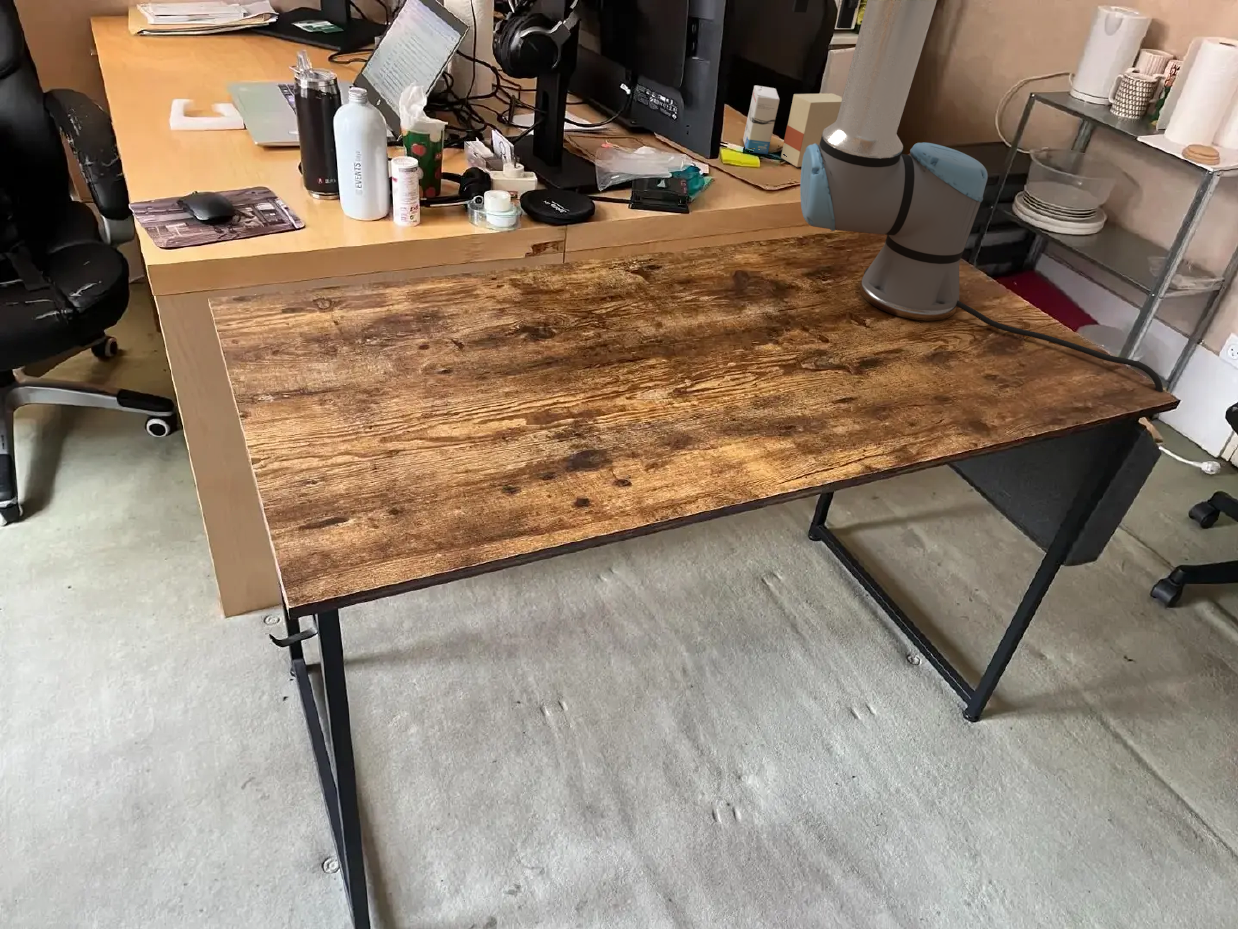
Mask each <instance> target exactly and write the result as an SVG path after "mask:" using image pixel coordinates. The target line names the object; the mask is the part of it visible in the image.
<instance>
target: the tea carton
mask: <svg viewBox="0 0 1238 929" xmlns="http://www.w3.org/2000/svg"><path fill="white" fill-rule="evenodd" d="M842 97H843V96H840V95H837V94H835V93H833V92H831V93H830V92H829V93H794V94H793V96H792V101H791V102H792V103H791V106H790V111H789V116H788V121H787V125H786V129H785V134H784V139H783V145H782V150H781V154H780V158H781V159H782V160H784V161H786V162H788V163H790V165H793V166H795V167H796V168H801V167H802V161H803V156H804V153H805V150H806V148H807V146H809V145H813V144H814V143H815V144H817V145H819V144H820V141H821V137H822V133H823V130H824V129H825V128H826V127H828V126H830V125H831V124H833V123H834V122H835V121H836V120H837V117H838V113H839V109H840V105H841V101H842ZM783 154H785V155H786V156H787V157H786V156H784V155H783Z"/></svg>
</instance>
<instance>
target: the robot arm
mask: <svg viewBox="0 0 1238 929" xmlns="http://www.w3.org/2000/svg"><path fill="white" fill-rule="evenodd" d="M809 1H810V0H793V4H792V8H791V12H793V13H807V11H808V6H809ZM937 1H938V0H867V1H866V5H865V9H864V12H863V16H862V19H861V23H860V28H859V32H858V36H857V40H856V43H855V48H854V51H853V54H852V58H851V63H850V65H849V66H850V67H849V69H848V70H849V71H848V74H847V78H846V82H845V86H844V89H843V94H842V96H841V97H842V101H841V105H840V109H839V113H838V117H837V120H836V121H835V122H834V123H833V124H831V125H830V126H828V127H826V128H825V129H824V130H823V133H822V137H821V141H820V144H819V145H817V144H815V143H814V144H813V145H809V146H807V148H806V150H805V153H804V156H803V161H802V167H800V168H801V169H800V183H799V193H800V194H799V195H800V196H799V198H800V209H801V214H802V217H803V219H804V221H805V222H806V224H808V225H809V226H811V227H814V228H819V229H825V230H830V231H831V232H835V231H841V232H850V233H851V232H854V233H863V234H864V233H865V234H875V235H884V236H885V235H886V238H885V241H884V244H883V246H882V247H881V249H880V251H879V252H878V253H877V255H876V256H875V258H874V259H873V261H872V263H871V264H870V265H869V267H867V268H866V269H865V270H864V273H863V274H864V275H863V276H862V279H861V282H860V285H859V293H860V295H861V296H862V297H863V298H864V299H865V301H866V302H868V303H869V304H871V305H872V306H874V307H875V308H878V309H879V310H881V311H883V312H887V314H891V315H894V316H897V317H901V318H904V319H905V318H906V319H911V320H915V321H939V320H945V319H947V318H950V317H952V316H953V315H954V314H956V310H957V308H959V309H960V310H963V311H965V313H966V312H967V313H968V314H970V315H972V316H973V317H975V318H977V319H978V320H980V321H981V322H983V323H985V324H986V325H988V326H990V327H992V328H995V329H997V330H1001V331H1004V332H1006V333H1011V334H1016V335H1020V336H1025V337H1029V338H1033V339H1038V340H1041V341H1045V342H1048V343H1052V344H1056V345H1059V346H1061V347H1064V348H1067V349H1071V350H1074V351H1078V352H1080V353H1082V354H1086V355H1088V356H1091V357H1094V358H1097V359H1100V360H1103V361H1107V362H1111V363H1116V364H1121V365H1126V366H1130V367H1134V368H1137V369H1139V370H1141V371H1142V372H1144V373H1146V374H1147V376H1149V378H1150V379H1151V380H1152V382H1153V383H1154V388H1155V391H1156V392H1159V393H1163V392H1164V387H1163V382H1162V380H1161V378H1160V376H1159V375H1158V374H1157V372H1155V370H1153V369H1152V368H1151V367H1150V366H1148V365H1147V364H1145V363H1143V362H1140V361H1138V360H1134V359H1130V358H1126V357H1125V358H1124V357H1120V356H1115V355H1111V354H1107V353H1103V352H1101V351H1098V350H1095V349H1091V348H1089V347H1086V346H1084V345H1080V344H1077V343H1075V342H1072V341H1068V340H1065V339H1061V338H1058V337H1056V336H1052V335H1047V334H1045V333H1041V332H1036V331H1032V330H1028V329H1023V328H1022V329H1021V328H1019V327H1014V326H1011V325H1007V324H1003V323H1000V322H998V321H995V320H993V319H991V318H989V317H988V316H986V315H984V314H983V313H981V312H980V311H978V310H976V309H974V308H973V307H971V306H970V305H967V304H965V303H964V302H962V301H960V263H961V259H962V257H963V254H964V251H965V248H966V245H967V242H968V239H969V236H970V234H971V231H972V228H973V225H974V223H975V220H976V217H977V214H978V212H979V208H980V205H981V203H982V202H983V200H984V193H985V189H986V185H987V182H988V177H989V175H988V171H987V168H986V167H985V166H984V165H983V164H982V162H980V161H979V160H977V159H975V158H974V157H972V156H970V155H968V154H966V153H964V152H961V151H959V150H957V149H954V148H950V147H947V146H944V145H941V144H936V143H932V142H917V143H915V144H914V145H913V146H912V147H911V148H910V150H909V154H903V150H904V144H903V143H902V141H901V139H900V137H899V136H898V134H897V133H898V129H899V126H900V122H901V119H902V116H903V112H904V109H905V106H906V102H907V100H908V97H909V94H910V93H909V92H910V89H911V86H912V83H913V80H914V76H915V73H916V70H917V67H918V63H919V61H920V58H921V53H922V50H923V47H924V45H925V44H924V43H925V41H926V37H927V35H928V30H929V27H930V24H931V21H932V17H933V14H934V10H935V8H936V4H937ZM859 2H860V0H841V3H840V8H839V12H838V17H837V21H836V26H835V28H836V29H841V30H842V29H846V30H848V29H849V30H851V29H852V26H853V22H854V17H855V13H856V9H857V8H858V6H859Z"/></svg>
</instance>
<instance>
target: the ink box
mask: <svg viewBox="0 0 1238 929" xmlns="http://www.w3.org/2000/svg"><path fill="white" fill-rule="evenodd" d="M779 104H780V97H779V94H778V91H777V88H776V87H775V88H774V87H769V86H763V85H758V84H757V85H753V90H752V95H751V99H750V105H749V110H748V114H747V118H746V123H745V128H744V133H743V136H742V140H743V144H744V148H745V149H746V148H755V149H752V150H754V151H753V152H752V154H753V153H754V154H762V155H768V154H769V150H770V146H771V141H772V136H773V132H774V129H775V128H774V127H775V123H776V119H777V118H776V117H777V113H778V109H779ZM758 149H760V150H758ZM748 153H751V152H750V151H749V152H748Z"/></svg>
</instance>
